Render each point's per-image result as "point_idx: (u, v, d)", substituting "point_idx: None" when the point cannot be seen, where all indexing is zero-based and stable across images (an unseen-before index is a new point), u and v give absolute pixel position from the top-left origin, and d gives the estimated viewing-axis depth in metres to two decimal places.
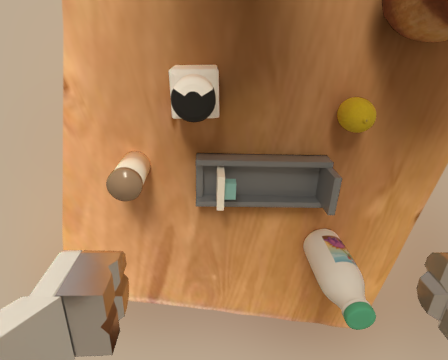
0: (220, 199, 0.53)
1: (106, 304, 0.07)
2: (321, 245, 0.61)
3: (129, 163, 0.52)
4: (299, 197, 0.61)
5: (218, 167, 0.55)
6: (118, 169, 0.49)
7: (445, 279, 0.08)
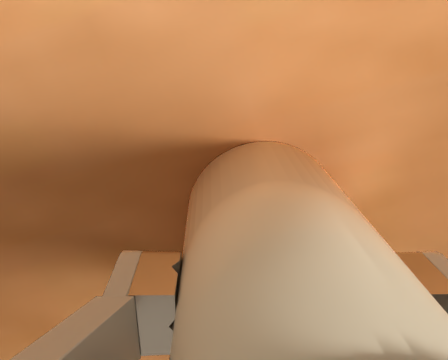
0: None
1: (175, 303, 0.07)
2: None
3: None
4: None
5: None
6: None
7: None
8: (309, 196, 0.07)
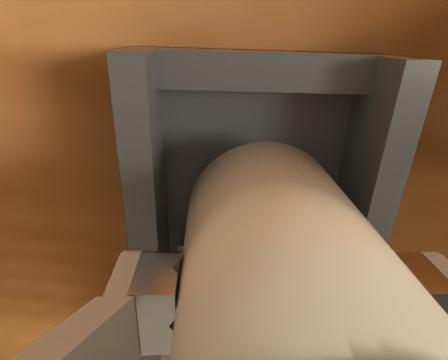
0: None
1: (175, 303, 0.07)
2: None
3: None
4: None
5: None
6: None
7: None
8: (309, 197, 0.07)
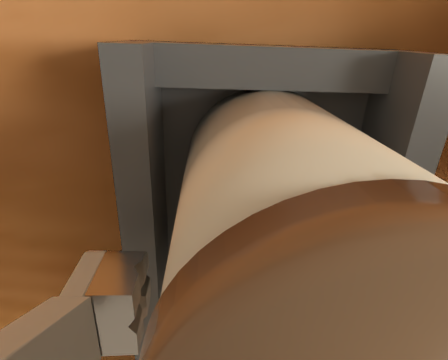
0: None
1: (134, 304, 0.07)
2: None
3: None
4: None
5: None
6: None
7: None
8: (305, 110, 0.07)
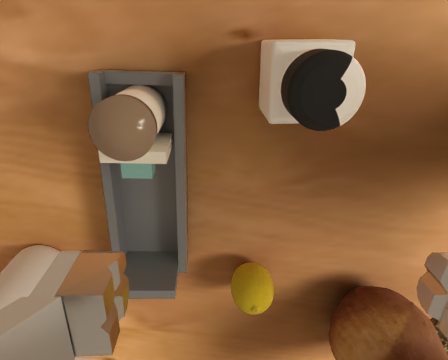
0: None
1: (106, 304, 0.07)
2: None
3: (159, 125, 0.29)
4: (123, 233, 0.40)
5: (170, 140, 0.34)
6: (153, 119, 0.26)
7: (445, 279, 0.08)
8: (135, 88, 0.30)
